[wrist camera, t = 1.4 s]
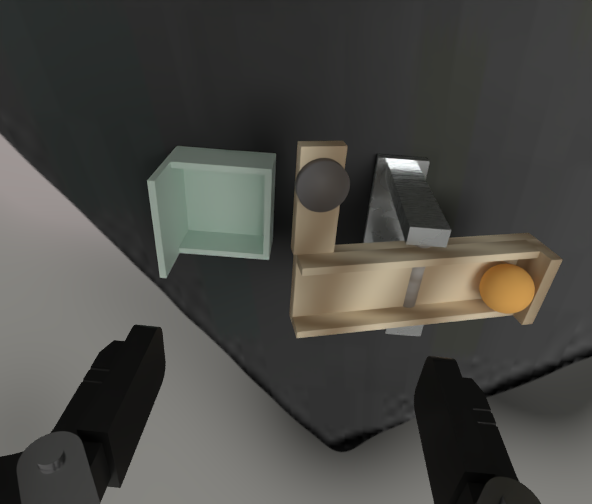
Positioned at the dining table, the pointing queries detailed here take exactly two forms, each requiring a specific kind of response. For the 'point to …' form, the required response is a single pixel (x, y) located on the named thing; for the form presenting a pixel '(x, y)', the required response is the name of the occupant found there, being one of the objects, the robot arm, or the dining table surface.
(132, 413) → the robot arm
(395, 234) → the fulcrum
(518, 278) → the ball
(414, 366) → the dining table surface
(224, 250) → the pale green cubby shelf
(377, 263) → the lever
